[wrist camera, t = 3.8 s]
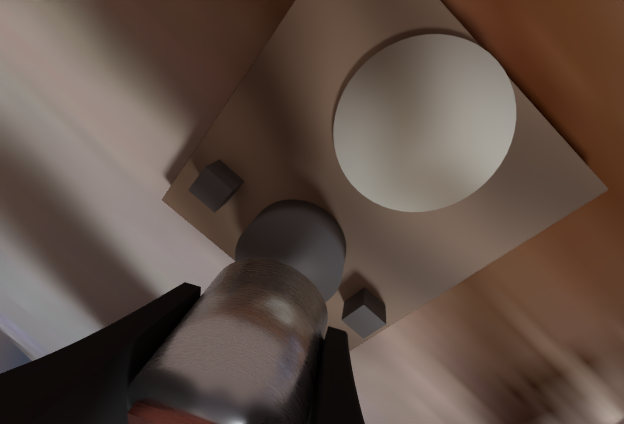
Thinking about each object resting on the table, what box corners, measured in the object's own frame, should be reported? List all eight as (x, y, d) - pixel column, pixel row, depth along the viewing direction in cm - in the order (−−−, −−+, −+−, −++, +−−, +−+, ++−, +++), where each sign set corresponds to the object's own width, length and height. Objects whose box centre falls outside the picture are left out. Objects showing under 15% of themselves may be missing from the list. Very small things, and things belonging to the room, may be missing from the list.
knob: (339, 277, 10) (312, 419, 6) (316, 367, 12) (283, 521, 8) (213, 244, 11) (104, 353, 6) (210, 335, 13) (127, 465, 8)
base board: (359, -76, 11) (353, -130, 8) (589, 180, 13) (649, 208, 10) (174, 192, 17) (135, 214, 14) (348, 337, 19) (343, 383, 16)
